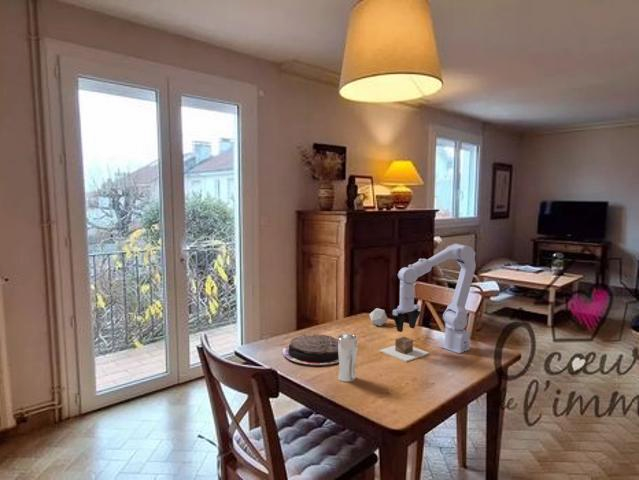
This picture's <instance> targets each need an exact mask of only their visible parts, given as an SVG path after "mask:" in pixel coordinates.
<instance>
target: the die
mask: <svg viewBox="0 0 639 480" xmlns="http://www.w3.org/2000/svg"><path fill="white" fill-rule="evenodd" d="M369 318H370V321H371V323H372V325H375V326H378V327H381V326H383V325H384V324H385V323H386V322H387V321H388V319H389V318H388V316H387V314H386V311H385V309H381V308H379V307H376V308H374V310H373V311H371V312H370V313H369Z"/></svg>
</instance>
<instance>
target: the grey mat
mask: <svg viewBox="0 0 639 480" xmlns="http://www.w3.org/2000/svg"><path fill="white" fill-rule="evenodd" d="M379 352H380V353H383V354H386V355H388V356H389V357H393V358H395V359H398V360H400V361H402V362H404V363H407V362H410V361H412V360H416V359H419V358H422V357H424V356H427V355H429V354H430V353H429V351H425V350H423V349H420V348H418V347H416V346H413V352H410V353H407V354H402V353H400V352H397V351H395V344H394V345H391V346H388V347H385V348H382V349H379Z"/></svg>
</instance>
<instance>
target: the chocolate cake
mask: <svg viewBox="0 0 639 480" xmlns="http://www.w3.org/2000/svg"><path fill="white" fill-rule="evenodd" d="M337 344H338V338H335V337H333V336H332V335H331V336H330V335H326V334H321V333H320V334H319V333H318V334H315V333H313V334H301V335H300V336H297V337H294V338H293V339H292V340H291V341H290V343H289V344H287V345H285V346H284V347H283V349H282V355H283V357H284V358H286V359H287V360H288V362H290V363H291V362H292V363H295V364H299V365H305V366H311V367H317V368H318V367H319V368H320V367H326V366H327V367H328V366H331V365H339V360H338V353H337Z"/></svg>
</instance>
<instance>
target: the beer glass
mask: <svg viewBox="0 0 639 480" xmlns="http://www.w3.org/2000/svg"><path fill="white" fill-rule="evenodd" d="M337 340H338V344H337V353H338V360H339V364H338V366H339V367H338V368H339V370H338V374H337V378H338V380H339V381H341V382H344V383H350V382H354V381H355V380H356V372H355V367H356V366H355V365H356V360H357V356H358V355H357V354H358V337H357V335H355V334H352V333H341V334H339V335H338V336H337Z"/></svg>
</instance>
